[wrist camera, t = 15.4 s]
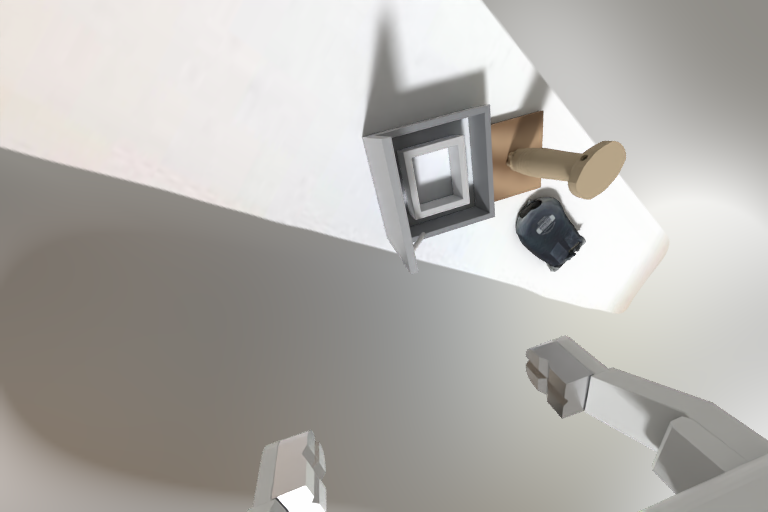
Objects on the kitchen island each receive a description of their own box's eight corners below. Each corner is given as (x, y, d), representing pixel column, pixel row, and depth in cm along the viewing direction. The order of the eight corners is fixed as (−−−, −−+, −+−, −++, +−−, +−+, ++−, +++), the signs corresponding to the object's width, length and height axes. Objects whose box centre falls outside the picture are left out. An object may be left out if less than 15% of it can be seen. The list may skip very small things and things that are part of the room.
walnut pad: (480, 127, 41) (483, 127, 40) (538, 111, 42) (543, 110, 41) (484, 202, 47) (487, 203, 46) (536, 186, 48) (540, 187, 47)
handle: (536, 151, 44) (632, 159, 30) (509, 184, 45) (590, 206, 32) (519, 131, 42) (613, 132, 28) (491, 167, 43) (569, 183, 30)
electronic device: (572, 227, 56) (543, 185, 47) (595, 242, 51) (567, 197, 43) (534, 258, 58) (501, 223, 50) (553, 274, 54) (520, 239, 46)
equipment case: (362, 137, 38) (381, 139, 27) (472, 107, 40) (536, 97, 28) (387, 238, 45) (411, 274, 34) (479, 209, 47) (532, 234, 35)
